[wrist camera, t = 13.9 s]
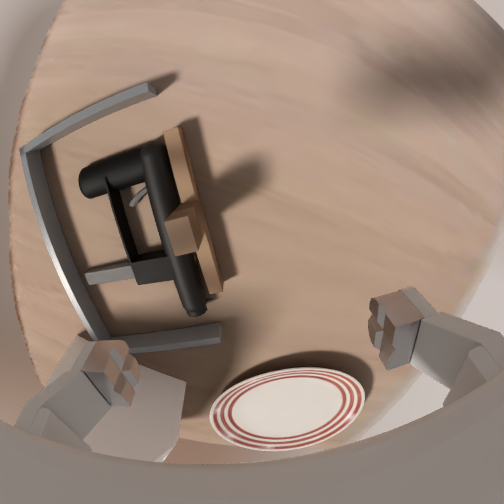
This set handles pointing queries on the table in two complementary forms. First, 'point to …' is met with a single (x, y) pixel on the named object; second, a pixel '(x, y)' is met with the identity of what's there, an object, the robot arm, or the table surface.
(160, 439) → the white fork-shaped stand
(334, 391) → the dinner plate
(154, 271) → the black angular piece
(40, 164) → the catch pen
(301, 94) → the table surface
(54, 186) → the table surface
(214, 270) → the walnut scraper
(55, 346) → the table surface
